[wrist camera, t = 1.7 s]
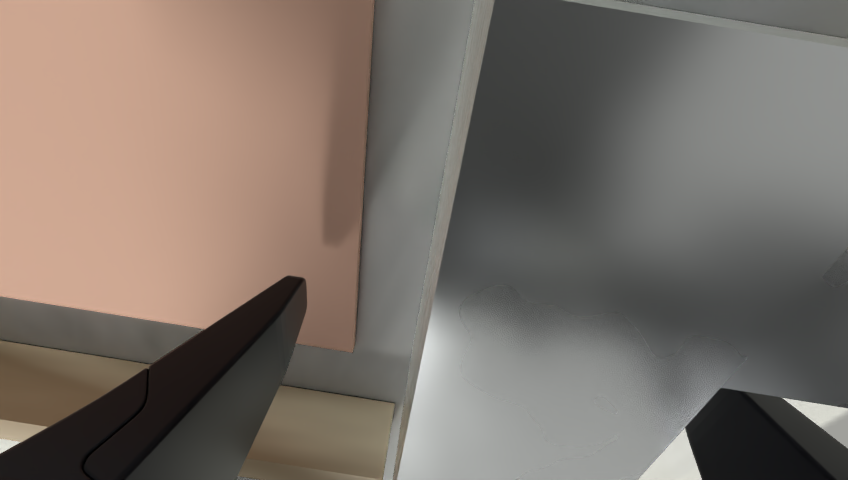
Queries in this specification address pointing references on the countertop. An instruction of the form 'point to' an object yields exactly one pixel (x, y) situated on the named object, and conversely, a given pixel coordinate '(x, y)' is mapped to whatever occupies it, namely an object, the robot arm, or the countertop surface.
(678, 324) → the bracket
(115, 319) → the countertop surface
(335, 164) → the pad
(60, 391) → the tan corner rail
